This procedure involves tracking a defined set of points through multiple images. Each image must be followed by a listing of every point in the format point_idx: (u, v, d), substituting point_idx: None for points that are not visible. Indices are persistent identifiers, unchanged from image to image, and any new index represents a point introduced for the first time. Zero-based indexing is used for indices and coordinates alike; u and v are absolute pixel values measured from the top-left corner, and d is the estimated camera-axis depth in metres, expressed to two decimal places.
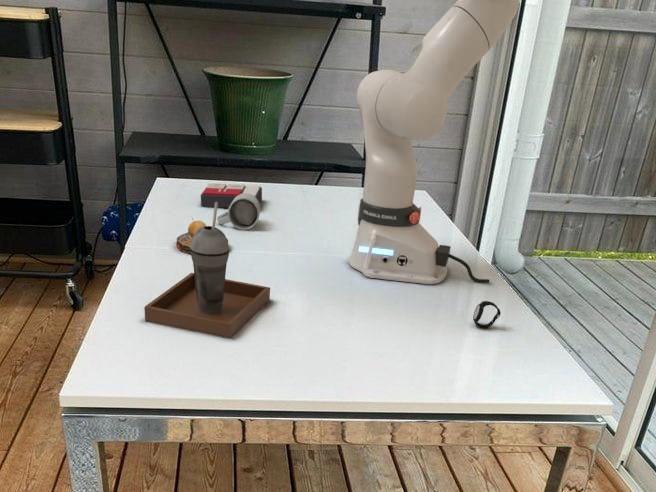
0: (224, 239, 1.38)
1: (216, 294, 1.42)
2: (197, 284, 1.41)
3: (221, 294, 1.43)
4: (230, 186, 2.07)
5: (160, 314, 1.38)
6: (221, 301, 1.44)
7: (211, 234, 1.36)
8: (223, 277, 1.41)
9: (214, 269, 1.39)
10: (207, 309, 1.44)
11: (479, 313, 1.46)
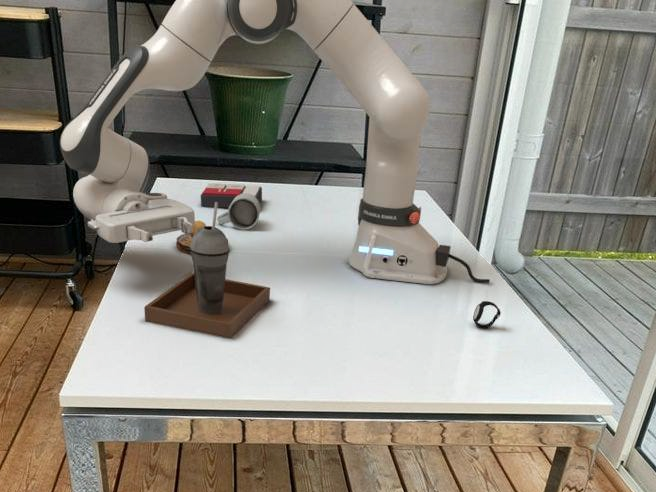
0: (224, 239, 1.38)
1: (216, 294, 1.42)
2: (197, 284, 1.41)
3: (221, 294, 1.43)
4: (230, 186, 2.07)
5: (160, 314, 1.38)
6: (221, 301, 1.44)
7: (211, 234, 1.36)
8: (223, 277, 1.41)
9: (214, 269, 1.39)
10: (207, 309, 1.44)
11: (479, 313, 1.46)
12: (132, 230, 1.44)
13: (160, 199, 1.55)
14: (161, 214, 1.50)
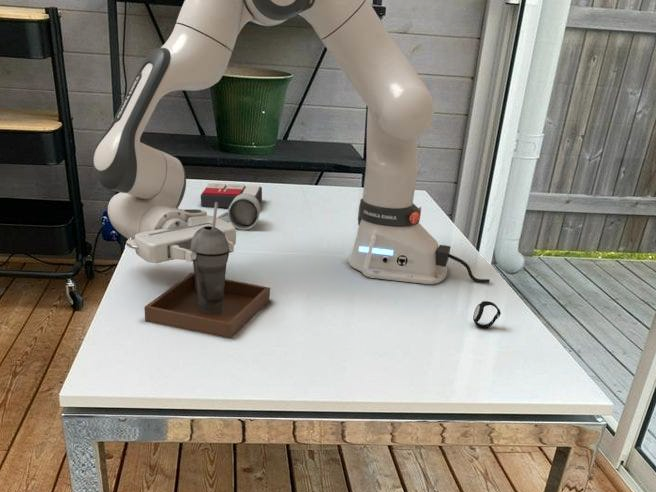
0: (224, 239, 1.38)
1: (216, 295, 1.42)
2: (197, 284, 1.41)
3: (221, 294, 1.43)
4: (230, 186, 2.07)
5: (160, 314, 1.38)
6: (221, 301, 1.44)
7: (211, 234, 1.36)
8: (223, 277, 1.41)
9: (214, 269, 1.39)
10: (207, 309, 1.44)
11: (479, 313, 1.46)
12: (175, 249, 1.37)
13: (200, 216, 1.48)
14: None
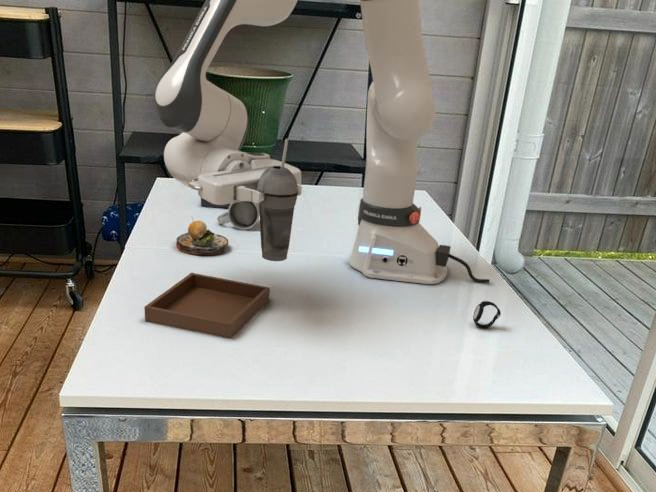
0: (294, 179, 1.30)
1: (283, 240, 1.34)
2: (263, 229, 1.34)
3: (288, 240, 1.35)
4: None
5: (160, 314, 1.38)
6: (287, 248, 1.36)
7: (281, 173, 1.28)
8: (291, 221, 1.33)
9: (282, 212, 1.31)
10: (272, 256, 1.36)
11: (479, 313, 1.46)
12: (242, 190, 1.29)
13: (263, 159, 1.40)
14: None
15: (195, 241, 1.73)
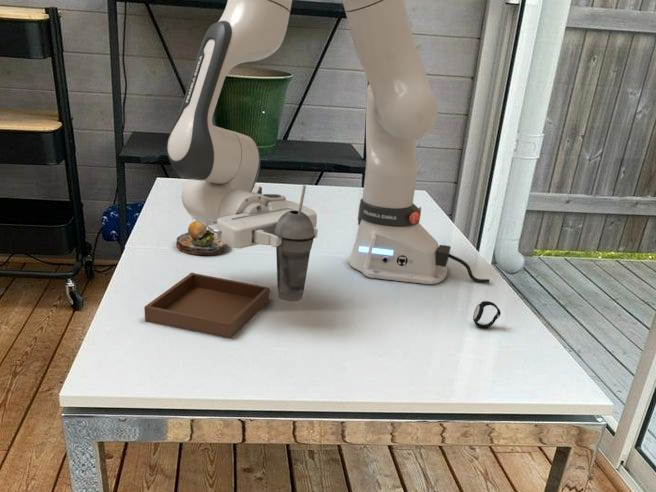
0: (310, 224, 1.33)
1: (299, 281, 1.38)
2: (280, 270, 1.37)
3: (303, 281, 1.39)
4: None
5: (160, 314, 1.38)
6: (303, 288, 1.40)
7: (298, 218, 1.32)
8: (307, 263, 1.37)
9: (299, 255, 1.34)
10: (289, 296, 1.39)
11: (479, 313, 1.46)
12: (260, 234, 1.33)
13: (279, 201, 1.43)
14: None
15: (195, 241, 1.73)
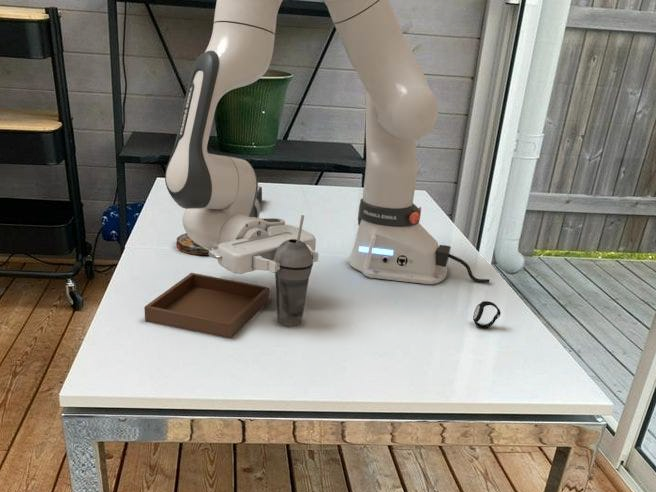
0: (309, 252, 1.36)
1: (298, 308, 1.41)
2: (279, 297, 1.40)
3: (302, 307, 1.42)
4: None
5: (160, 314, 1.38)
6: (302, 314, 1.43)
7: (296, 247, 1.34)
8: (305, 290, 1.40)
9: (298, 282, 1.37)
10: (288, 322, 1.42)
11: (479, 313, 1.46)
12: (259, 260, 1.35)
13: (279, 225, 1.46)
14: None
15: None
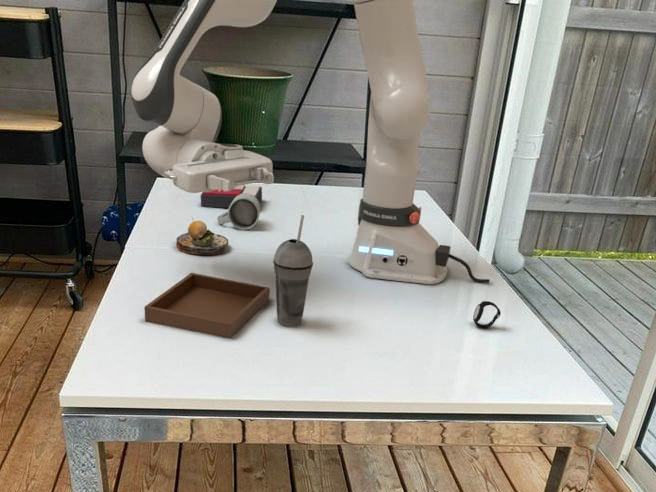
0: (309, 252, 1.36)
1: (298, 308, 1.41)
2: (279, 297, 1.40)
3: (302, 307, 1.42)
4: None
5: (160, 314, 1.38)
6: (302, 314, 1.43)
7: (296, 247, 1.34)
8: (305, 290, 1.40)
9: (298, 282, 1.37)
10: (288, 322, 1.42)
11: (479, 313, 1.46)
12: (213, 179, 1.36)
13: (236, 150, 1.47)
14: (240, 164, 1.42)
15: (195, 241, 1.73)
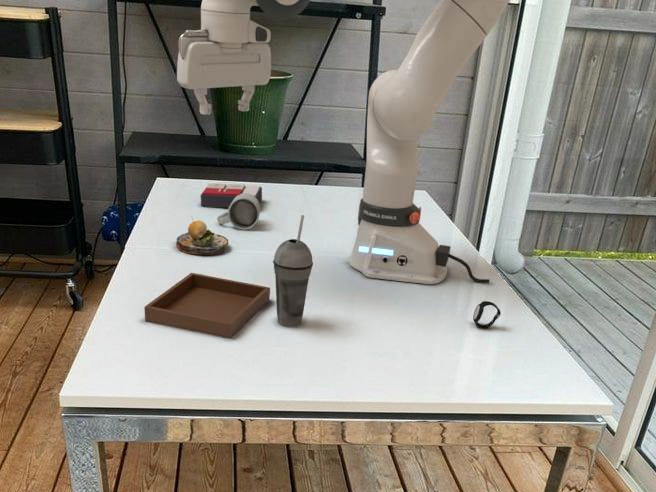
0: (309, 252, 1.36)
1: (298, 308, 1.41)
2: (279, 297, 1.40)
3: (302, 307, 1.42)
4: (230, 186, 2.07)
5: (160, 314, 1.38)
6: (302, 314, 1.43)
7: (296, 247, 1.34)
8: (305, 290, 1.40)
9: (298, 282, 1.37)
10: (288, 322, 1.42)
11: (479, 313, 1.46)
12: (200, 96, 1.41)
13: (259, 45, 1.43)
14: (239, 81, 1.44)
15: (195, 241, 1.73)
